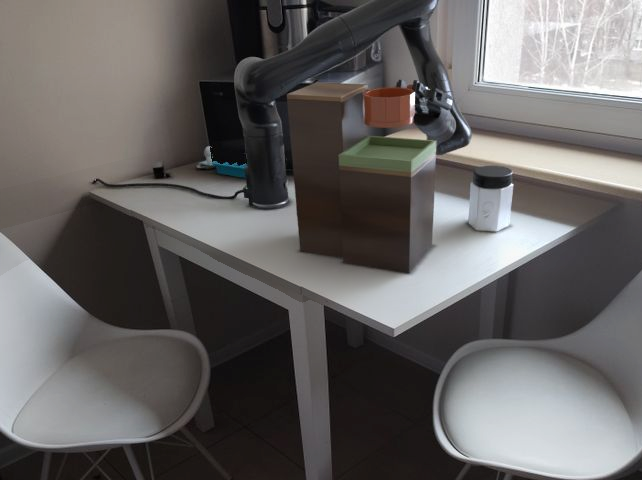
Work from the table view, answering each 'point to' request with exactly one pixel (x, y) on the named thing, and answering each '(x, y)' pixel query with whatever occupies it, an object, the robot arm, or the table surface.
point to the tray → (388, 153)
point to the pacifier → (208, 161)
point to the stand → (354, 186)
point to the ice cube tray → (230, 169)
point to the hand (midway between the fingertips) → (407, 85)
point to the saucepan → (389, 107)
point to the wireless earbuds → (159, 170)
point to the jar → (490, 198)
